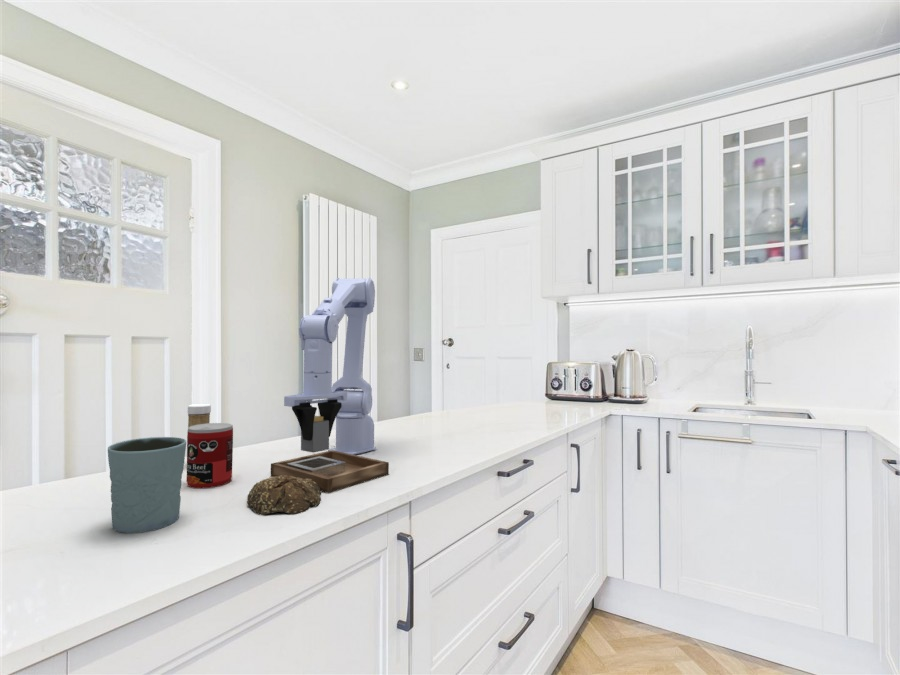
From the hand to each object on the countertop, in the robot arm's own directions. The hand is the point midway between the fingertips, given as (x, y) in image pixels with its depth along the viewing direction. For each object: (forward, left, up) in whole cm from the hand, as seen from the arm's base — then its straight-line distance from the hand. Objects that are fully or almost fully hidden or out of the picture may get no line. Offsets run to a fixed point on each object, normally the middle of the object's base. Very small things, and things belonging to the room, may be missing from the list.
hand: (316, 438), depth 98 cm
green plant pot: (+32, +1, -8) cm, 33 cm away
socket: (0, 0, -8) cm, 8 cm away
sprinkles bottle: (+11, -27, -8) cm, 30 cm away
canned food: (+16, -12, -8) cm, 22 cm away
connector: (0, -1, -2) cm, 3 cm away
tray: (-2, +2, -8) cm, 8 cm away
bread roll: (+14, +9, -8) cm, 19 cm away
